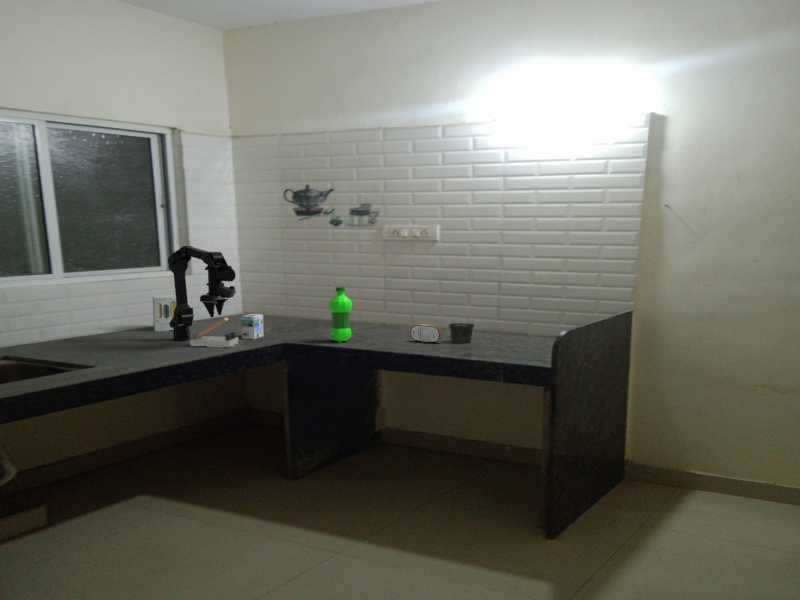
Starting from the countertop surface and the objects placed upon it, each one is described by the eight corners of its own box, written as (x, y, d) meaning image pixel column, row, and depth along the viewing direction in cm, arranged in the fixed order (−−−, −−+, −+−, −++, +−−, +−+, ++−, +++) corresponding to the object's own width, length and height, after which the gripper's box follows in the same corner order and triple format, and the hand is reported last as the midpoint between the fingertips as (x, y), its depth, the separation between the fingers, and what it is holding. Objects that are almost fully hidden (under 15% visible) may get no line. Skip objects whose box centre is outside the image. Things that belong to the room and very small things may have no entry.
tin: (442, 343, 287) (442, 324, 286) (440, 344, 284) (440, 325, 284) (412, 340, 294) (412, 322, 293) (409, 341, 291) (409, 323, 290)
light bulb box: (254, 339, 296) (254, 316, 295) (241, 339, 297) (240, 316, 296) (264, 336, 306) (263, 313, 305) (251, 335, 308) (250, 313, 307)
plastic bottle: (356, 341, 292) (356, 287, 289) (339, 344, 284) (339, 288, 281) (341, 338, 298) (341, 285, 296) (324, 341, 291) (324, 287, 288)
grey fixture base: (190, 346, 277) (189, 334, 276) (200, 342, 286) (199, 330, 286) (229, 347, 274) (229, 335, 274) (238, 343, 284) (238, 331, 284)
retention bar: (196, 338, 279) (194, 335, 279) (199, 336, 283) (198, 334, 283) (225, 320, 277) (224, 318, 277) (228, 319, 280) (227, 317, 280)
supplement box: (154, 331, 319) (153, 297, 317) (153, 328, 331) (152, 295, 329) (182, 330, 324) (181, 296, 322) (180, 326, 336) (179, 294, 334)
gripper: (223, 282, 267) (224, 319, 269) (240, 279, 285) (241, 313, 287) (198, 282, 268) (199, 318, 270) (217, 279, 287) (218, 313, 288)
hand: (215, 316), depth 279 cm, fingers open, 8 cm apart
